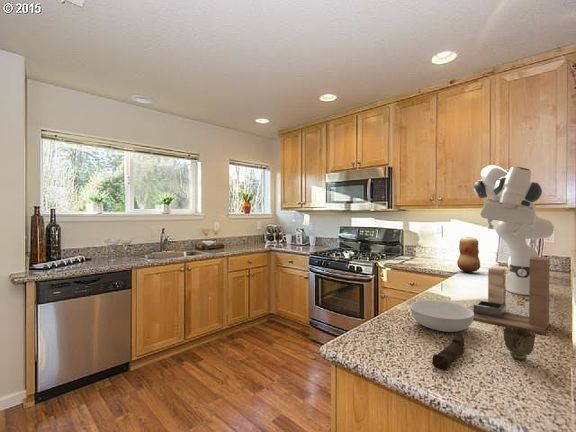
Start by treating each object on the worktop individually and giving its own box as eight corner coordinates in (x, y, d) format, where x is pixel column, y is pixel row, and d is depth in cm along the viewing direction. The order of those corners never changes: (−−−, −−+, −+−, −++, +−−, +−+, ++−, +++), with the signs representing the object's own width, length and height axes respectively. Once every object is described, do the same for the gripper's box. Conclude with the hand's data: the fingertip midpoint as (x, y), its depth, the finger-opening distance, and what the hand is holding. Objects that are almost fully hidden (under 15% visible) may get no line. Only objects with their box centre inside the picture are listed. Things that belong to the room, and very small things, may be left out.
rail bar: (491, 308, 132) (492, 267, 132) (505, 310, 129) (505, 268, 128) (488, 310, 129) (488, 268, 129) (502, 313, 125) (502, 270, 125)
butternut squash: (456, 273, 210) (456, 237, 210) (457, 269, 221) (457, 235, 221) (480, 275, 203) (480, 238, 202) (480, 271, 214) (480, 236, 214)
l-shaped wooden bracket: (470, 308, 132) (471, 251, 132) (549, 323, 114) (549, 257, 114) (460, 317, 121) (460, 254, 121) (545, 335, 103) (546, 262, 103)
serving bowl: (398, 323, 114) (398, 305, 114) (432, 314, 125) (432, 297, 125) (451, 343, 96) (451, 322, 96) (486, 330, 107) (486, 311, 107)
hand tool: (447, 373, 79) (447, 355, 79) (431, 367, 82) (431, 350, 82) (472, 351, 91) (472, 336, 91) (458, 347, 94) (458, 332, 94)
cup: (496, 352, 90) (496, 326, 90) (519, 351, 91) (519, 325, 91) (517, 365, 83) (517, 336, 83) (542, 364, 83) (542, 335, 83)
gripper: (483, 196, 141) (474, 224, 141) (538, 204, 126) (528, 235, 126) (487, 199, 146) (478, 227, 146) (540, 207, 130) (531, 238, 131)
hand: (502, 231), depth 136 cm, fingers open, 8 cm apart
